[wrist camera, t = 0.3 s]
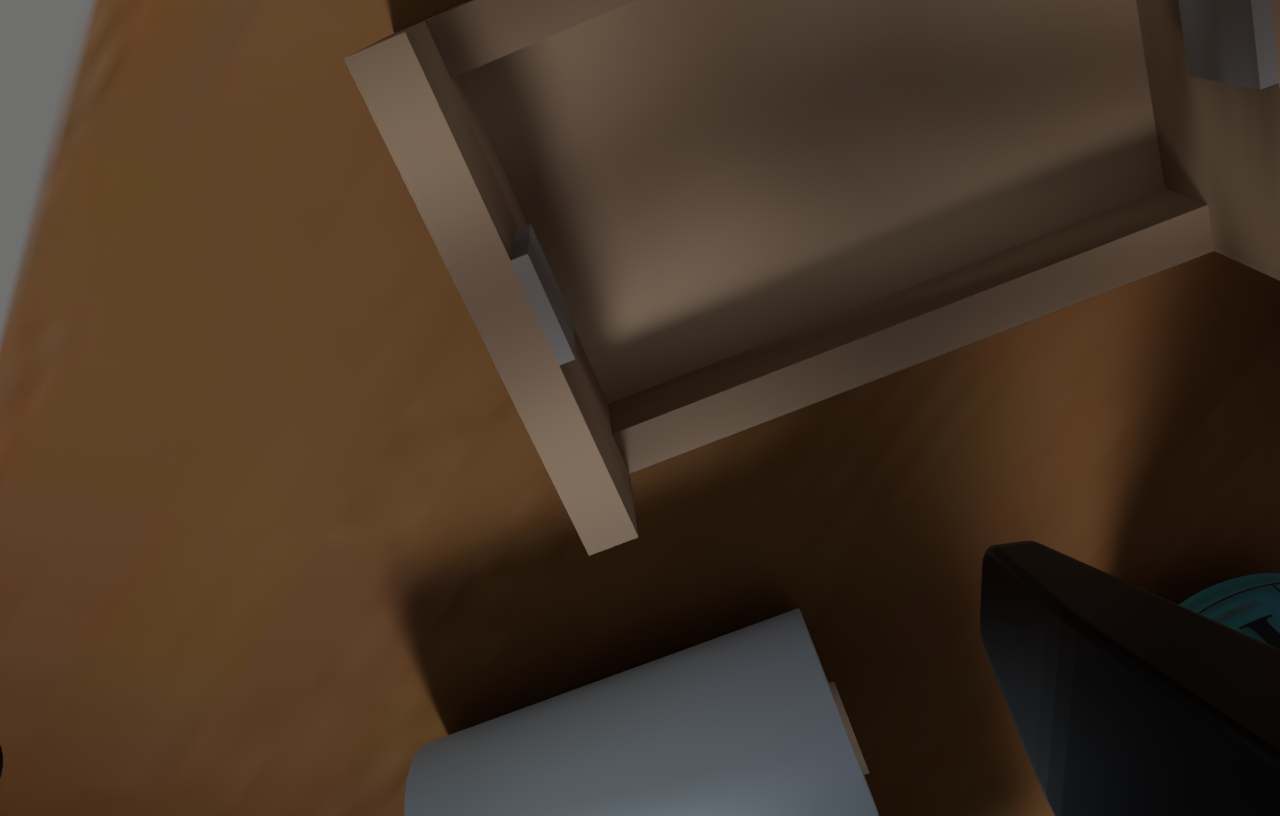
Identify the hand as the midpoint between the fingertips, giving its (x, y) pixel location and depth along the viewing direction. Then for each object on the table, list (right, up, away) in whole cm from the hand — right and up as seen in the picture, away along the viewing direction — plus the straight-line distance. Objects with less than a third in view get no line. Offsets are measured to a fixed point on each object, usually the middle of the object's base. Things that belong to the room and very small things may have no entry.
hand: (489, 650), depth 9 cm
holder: (+5, +8, +12) cm, 15 cm away
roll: (+1, -6, +18) cm, 19 cm away
